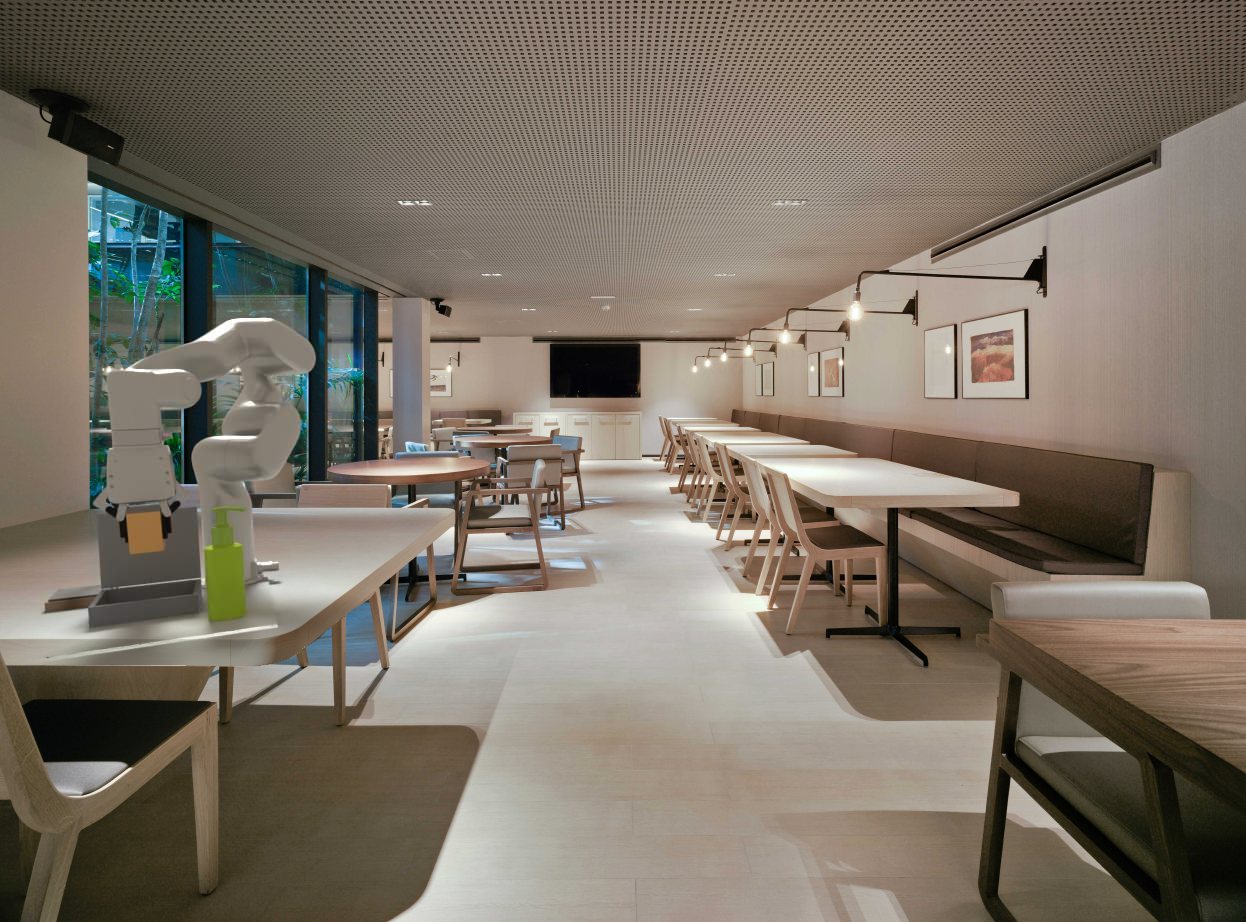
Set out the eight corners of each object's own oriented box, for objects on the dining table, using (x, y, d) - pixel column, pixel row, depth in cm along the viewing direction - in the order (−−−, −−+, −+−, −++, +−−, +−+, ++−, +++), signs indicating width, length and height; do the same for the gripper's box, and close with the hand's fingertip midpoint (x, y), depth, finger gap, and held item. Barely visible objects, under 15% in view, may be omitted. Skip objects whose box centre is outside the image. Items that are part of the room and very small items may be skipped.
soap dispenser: (249, 621, 124) (242, 507, 123) (204, 625, 122) (197, 510, 121) (256, 612, 130) (249, 503, 128) (213, 616, 128) (206, 506, 126)
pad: (118, 594, 144) (118, 582, 144) (111, 606, 136) (110, 593, 136) (57, 602, 140) (56, 589, 139) (45, 614, 131) (44, 600, 131)
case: (202, 598, 140) (201, 578, 140) (199, 616, 128) (198, 594, 128) (102, 611, 133) (101, 590, 132) (89, 631, 120) (87, 607, 120)
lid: (200, 577, 140) (201, 576, 141) (196, 506, 140) (197, 506, 141) (101, 588, 132) (102, 588, 134) (96, 513, 132) (98, 513, 134)
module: (165, 545, 132) (161, 502, 131) (163, 550, 128) (159, 506, 127) (133, 548, 130) (129, 505, 129) (129, 554, 126) (125, 509, 125)
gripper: (194, 435, 134) (202, 530, 136) (82, 440, 126) (92, 541, 128) (192, 438, 128) (201, 537, 129) (74, 443, 119) (85, 549, 121)
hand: (147, 538), depth 129 cm, fingers closed on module, 5 cm apart
